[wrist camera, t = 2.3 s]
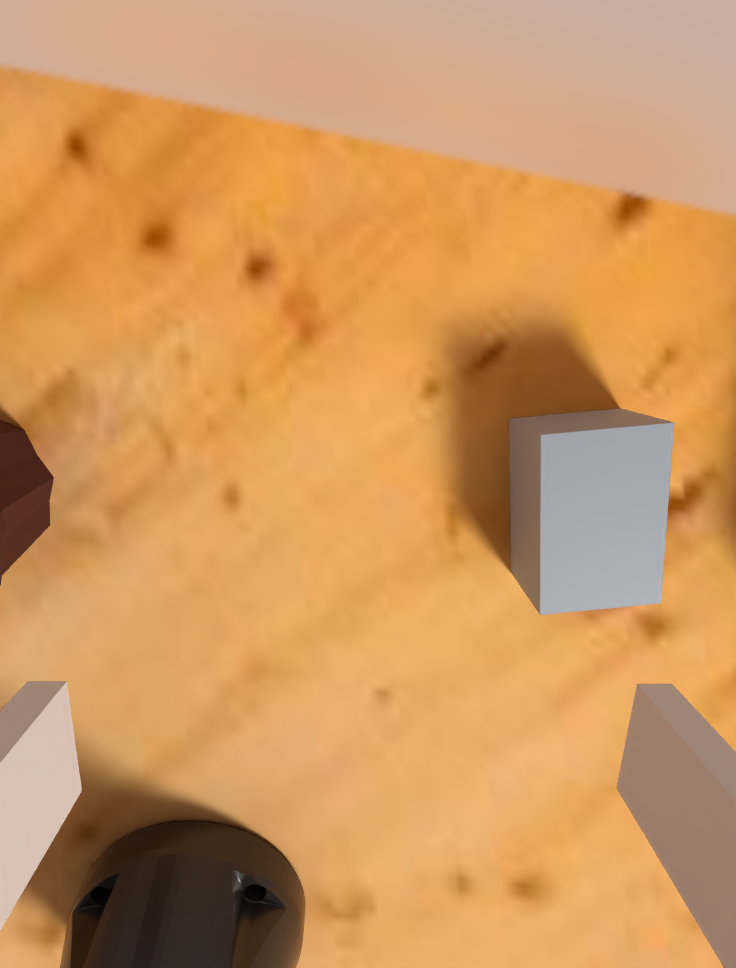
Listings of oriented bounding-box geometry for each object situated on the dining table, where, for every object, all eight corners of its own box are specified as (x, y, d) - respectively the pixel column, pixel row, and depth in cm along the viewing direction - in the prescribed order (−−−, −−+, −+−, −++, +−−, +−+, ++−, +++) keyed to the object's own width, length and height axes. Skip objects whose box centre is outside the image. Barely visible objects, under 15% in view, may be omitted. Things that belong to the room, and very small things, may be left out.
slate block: (510, 571, 31) (539, 614, 26) (507, 418, 28) (540, 435, 23) (611, 561, 31) (660, 603, 26) (618, 407, 28) (674, 422, 23)
